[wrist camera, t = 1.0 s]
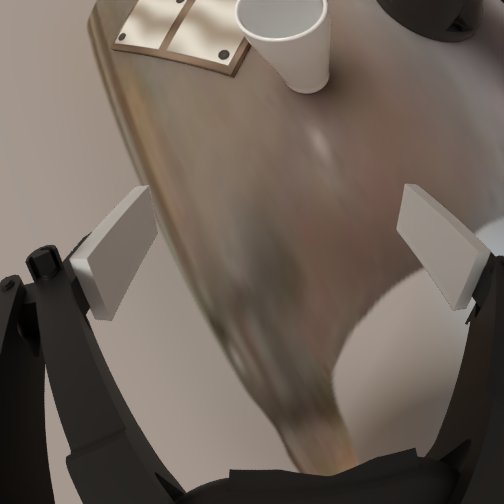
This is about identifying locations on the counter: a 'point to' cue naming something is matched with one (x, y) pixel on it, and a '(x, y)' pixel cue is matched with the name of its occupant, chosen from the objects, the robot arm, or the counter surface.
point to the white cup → (290, 38)
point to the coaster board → (185, 33)
